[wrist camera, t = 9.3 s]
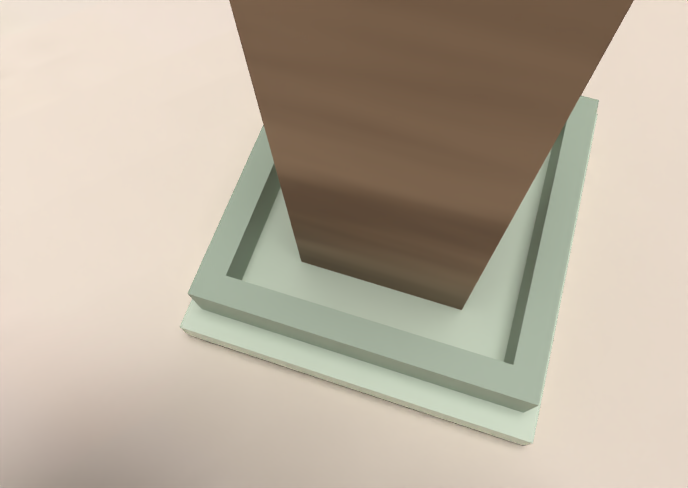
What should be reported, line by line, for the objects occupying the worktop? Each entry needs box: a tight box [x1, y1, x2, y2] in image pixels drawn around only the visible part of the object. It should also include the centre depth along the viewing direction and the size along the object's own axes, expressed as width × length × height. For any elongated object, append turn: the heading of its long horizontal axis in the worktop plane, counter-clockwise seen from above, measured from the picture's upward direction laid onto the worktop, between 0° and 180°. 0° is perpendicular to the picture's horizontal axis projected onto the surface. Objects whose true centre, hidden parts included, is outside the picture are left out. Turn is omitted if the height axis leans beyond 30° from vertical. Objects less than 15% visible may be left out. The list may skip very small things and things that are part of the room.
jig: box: [180, 96, 599, 446], centre depth 18 cm, size 11×10×2 cm
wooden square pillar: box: [229, 0, 634, 310], centre depth 12 cm, size 5×5×13 cm
